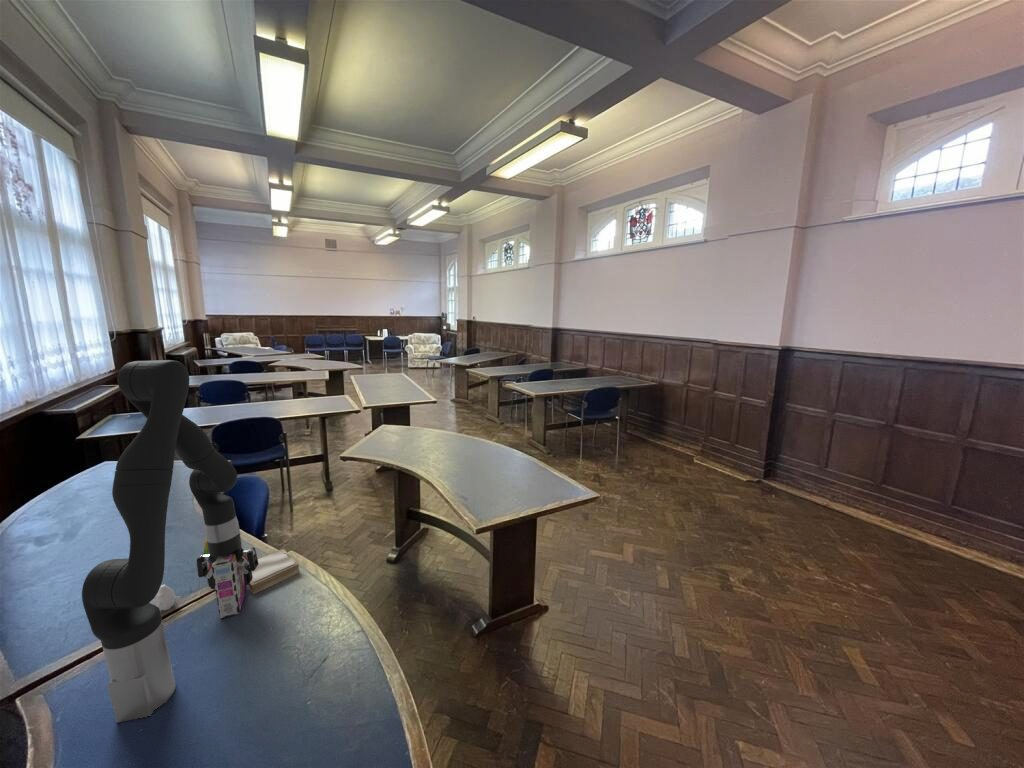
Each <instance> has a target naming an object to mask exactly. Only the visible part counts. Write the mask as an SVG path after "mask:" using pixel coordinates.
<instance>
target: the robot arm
mask: <svg viewBox="0 0 1024 768" xmlns="http://www.w3.org/2000/svg"><path fill="white" fill-rule="evenodd" d="M116 378H117V385H118V387H119V390H120V391H121V393H122V394H123V396H125V398H126V399H127V400H128V401H129V402H130V403H131V404H132V405H133V406H134V408H136V409H137V410H138V411H139V412H140V413H141V414H142V415H143V416H144V418H146V421H145V424H144V425H143V426H142V428H141V430H140V431H139V432H138V434H137V435H136V436H135V437H134V438H133V439H132V441H131V442H130V444H128V445H127V447H125V449H124V450H123V452H122V453H121V454H120V456H119V458H118V460H117V461H116V465H115V471H114V477H113V483H112V489H111V490H112V493H111V496H112V499H113V503H114V505H115V507H116V509H117V511H118V512H119V515H120V517H121V518H122V520H123V521H124V524H125V526H126V528H127V530H128V533H129V553H128V554H129V555H128V558H113V559H107V560H104V561H102V562H100V563H99V564H97V565H95V567H93V568H92V569H91V570H90V571H89V572H88V574H87V576H85V579H84V581H83V584H82V589H81V601H82V605H83V609H84V613H85V615H86V618H87V621H88V623H89V627H90V631H92V634H93V636H94V637H96V638H97V639H98V640H99V641H100V643H101V646H102V650H103V654H104V659H105V663H106V667H107V671H108V674H109V675H108V676H109V679H110V681H109V682H108V683H107V690H108V694H109V697H110V701H111V706H112V710H113V715H114V718H115V721H116V723H122V722H127V721H129V722H130V721H134V720H138V718H140V719H144V718H143V717H145V718H148V717H147V716H150V715H151V714H152V713H153V714H154V712H155V711H156V710H155V709H157V708H158V707H159V706H161V705H162V704H163V703H164V704H165V703H167V701H168V700H170V698H171V697H172V695H173V694H174V692H175V690H176V687H177V686H176V681H175V675H174V670H173V667H172V661H171V657H170V652H169V647H168V643H167V642H168V641H167V638H166V633H165V628H164V626H165V625H164V622H163V618H162V612H161V610H159V608H158V607H157V606H156V604H155V605H153V604H151V602H150V601H152V600H153V599H155V598H156V595H157V593H158V591H159V589H160V586H161V585H162V584H163V579H164V573H165V562H166V561H165V560H166V559H165V556H166V555H165V553H166V551H165V550H166V549H165V548H166V523H167V514H168V513H167V512H168V505H169V499H170V492H171V486H172V481H173V473H174V465H175V464H174V463H175V462H174V461H175V454H177V455H178V457H179V458H180V460H181V461H182V463H183V465H185V466H186V467H187V468H188V469H189V470H192V472H190V475H189V481H188V483H189V489H190V492H191V493H192V495H193V497H194V498H195V501H196V502H197V504H198V506H199V507H200V508H201V510H202V516H203V522H204V533H205V539H206V541H207V546H208V552H209V555H206V553H204V552H202V553H200V555H199V556H198V557H197V558H196V567H197V576H198V577H199V578H206V579H207V583H208V587H209V588H210V589H211V590H215V584H214V577H213V570H212V568H211V569H210V570H208V559H209V561H210V562H212V563H213V562H214V559H215V557H218V556H224V555H227V554H235V555H236V560H237V570H241V571H242V572H243V573H244V574H243V575H244V581H245V585H246V586H247V585H249V583H250V582H251V580H252V578H253V576H252V571H254V570H255V569H256V567H257V566H258V564H259V563H258V558H259V557H258V556H257V551H256V548H255V547H252V546H251V548H250V549H246V550H244V549H243V547H242V538H241V531H240V524H239V520H238V518H237V514H236V513H237V512H236V507H235V502H234V499H233V497H231V496H229V495H226V494H223V493H225V492H227V491H231V490H232V489H233V488H234V487H235V485H236V484H237V481H238V472H237V470H236V468H235V467H234V465H233V464H232V463H231V462H230V461H229V460H228V459H226V458H225V456H223V455H222V454H221V453H220V452H219V451H217V450H216V448H215V447H214V444H213V443H212V441H211V439H210V438H209V436H208V435H207V433H206V432H205V431H204V430H203V429H202V428H201V426H199V425H198V424H196V422H193V420H192V419H189V418H188V417H187V416H185V415H184V414H183V413H184V409H185V406H186V401H187V398H188V394H189V388H190V374H189V371H188V368H187V366H185V364H184V363H182V362H180V361H178V360H171V359H166V360H165V359H163V360H162V359H161V360H160V359H159V360H134V361H130V362H127V363H126V364H124V365H123V366H122V367H121V368H120V369H119V371H118V374H117V377H116ZM243 555H245V556H246V558H248V560H246V559H245V558H244V557H243ZM239 561H240V562H241V563H240V564H239V563H238V562H239ZM164 704H163V705H164ZM163 705H162V706H163ZM162 706H161V707H162ZM159 708H160V707H159ZM159 708H158V709H159ZM158 709H157V710H158ZM154 710H155V711H154ZM153 711H154V712H153ZM153 714H152V715H153ZM152 715H151V716H152ZM151 716H150V717H151ZM133 719H134V720H133Z"/></svg>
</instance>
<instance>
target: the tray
mask: <svg viewBox="0 0 1024 768" xmlns="http://www.w3.org/2000/svg"><path fill="white" fill-rule="evenodd" d="M280 552H282V553H280ZM283 553H288V552H287V551H286V549H284V548H280V549H278V550H275V551H274V552H271V553H267V554H266V555H264V556H261V557H257V558H258V563H259V564H258V566H257V567H256V569H255V570H254V571H252V576H253V578H252V580H251V582H250V583H249V585H246V587H247V588H248V590H249V591H250V593H252V595H255V594H257V593H259V592H261V591H264V590H266V589H267V588H270V587H271V586H274V585H276V584H278V583H281V582H282V581H284V580H286V579H289V578H291V577H293V576H295V575H298V574H299V573H300V566H299V563H298V562H297V561H296V560H295V559H294V558H293V557H292V556H291V555H290V554H289V553H288V554H283Z"/></svg>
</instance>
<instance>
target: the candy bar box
mask: <svg viewBox="0 0 1024 768" xmlns="http://www.w3.org/2000/svg"><path fill="white" fill-rule="evenodd" d="M238 563H239V564H240V563H241V562H240V561H239V562H238ZM212 570H213V577H214V584H215V589H214V590H215V597H216V602H217V603H216V604H217V608H218V616H219V619H224V618H228V617H233V616H236V615H240V613H241V610H242V607H243V602H244V600H245V595H246V591H247V585H245V581H244V575H243V574H244V573H243V572H242V571H241V570H237V560H236V555H235V554H227V555H224V556H218V557H215V559H214V562H213V564H212Z"/></svg>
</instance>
